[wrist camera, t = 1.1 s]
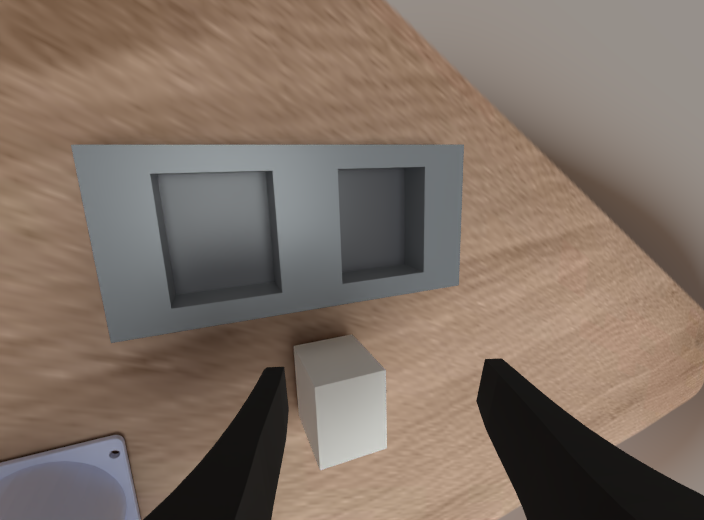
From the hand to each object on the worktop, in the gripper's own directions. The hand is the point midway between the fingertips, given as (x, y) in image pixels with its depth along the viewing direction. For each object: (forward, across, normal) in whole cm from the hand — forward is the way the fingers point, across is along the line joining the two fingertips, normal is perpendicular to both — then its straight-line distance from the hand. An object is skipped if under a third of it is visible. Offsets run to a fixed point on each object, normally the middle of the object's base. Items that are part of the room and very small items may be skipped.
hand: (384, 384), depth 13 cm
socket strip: (+11, +4, -2) cm, 12 cm away
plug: (+10, +3, +8) cm, 13 cm away
